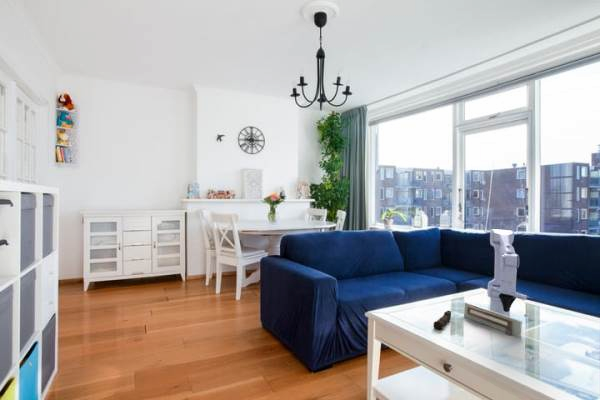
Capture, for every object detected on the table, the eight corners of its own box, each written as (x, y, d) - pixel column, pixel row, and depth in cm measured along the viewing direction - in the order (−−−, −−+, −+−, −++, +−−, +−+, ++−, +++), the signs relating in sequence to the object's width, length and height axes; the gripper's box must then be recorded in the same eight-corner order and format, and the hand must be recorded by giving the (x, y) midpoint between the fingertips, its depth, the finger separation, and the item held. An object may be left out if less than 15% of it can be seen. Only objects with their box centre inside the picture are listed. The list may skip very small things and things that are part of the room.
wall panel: (465, 315, 167) (466, 302, 167) (520, 336, 145) (521, 320, 145) (460, 316, 166) (461, 303, 165) (516, 338, 143) (517, 322, 143)
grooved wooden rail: (468, 313, 164) (468, 305, 164) (511, 329, 146) (511, 320, 146) (467, 314, 163) (467, 306, 163) (509, 329, 146) (510, 320, 146)
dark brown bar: (442, 332, 147) (442, 321, 147) (432, 329, 150) (433, 319, 150) (455, 320, 161) (456, 311, 161) (447, 318, 164) (447, 309, 164)
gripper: (487, 277, 152) (485, 307, 152) (521, 286, 139) (519, 318, 140) (495, 276, 155) (493, 305, 156) (529, 284, 143) (527, 315, 143)
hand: (506, 311), depth 148 cm, fingers closed
